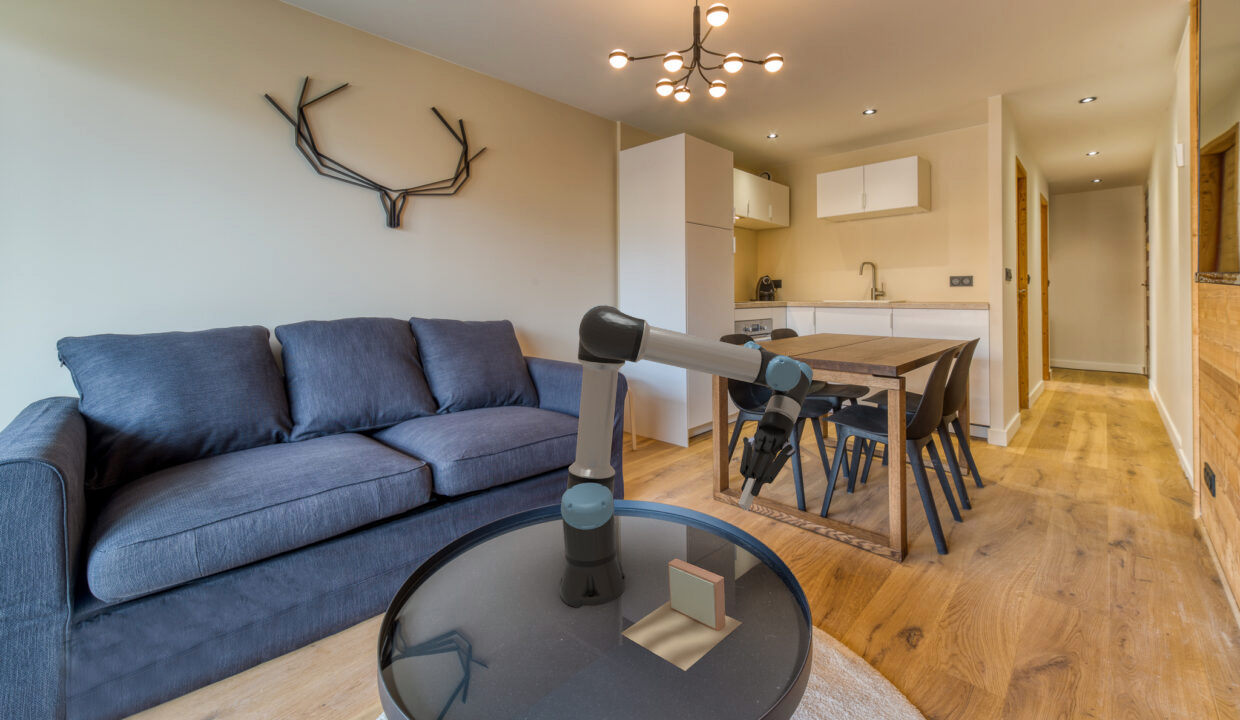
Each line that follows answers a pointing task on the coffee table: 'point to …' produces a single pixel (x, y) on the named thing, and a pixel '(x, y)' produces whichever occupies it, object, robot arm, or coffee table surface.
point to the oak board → (677, 635)
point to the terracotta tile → (697, 593)
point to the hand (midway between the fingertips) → (743, 506)
